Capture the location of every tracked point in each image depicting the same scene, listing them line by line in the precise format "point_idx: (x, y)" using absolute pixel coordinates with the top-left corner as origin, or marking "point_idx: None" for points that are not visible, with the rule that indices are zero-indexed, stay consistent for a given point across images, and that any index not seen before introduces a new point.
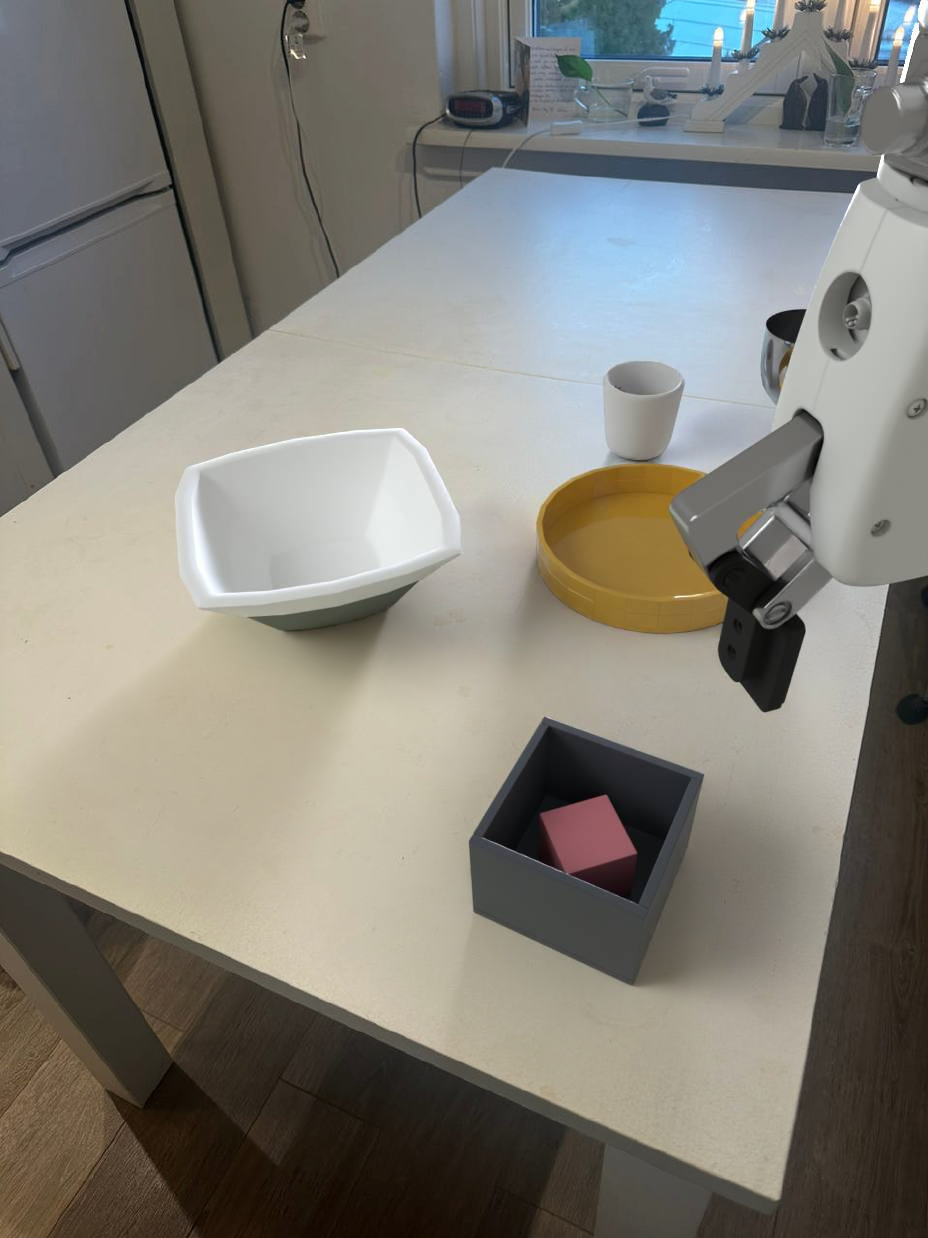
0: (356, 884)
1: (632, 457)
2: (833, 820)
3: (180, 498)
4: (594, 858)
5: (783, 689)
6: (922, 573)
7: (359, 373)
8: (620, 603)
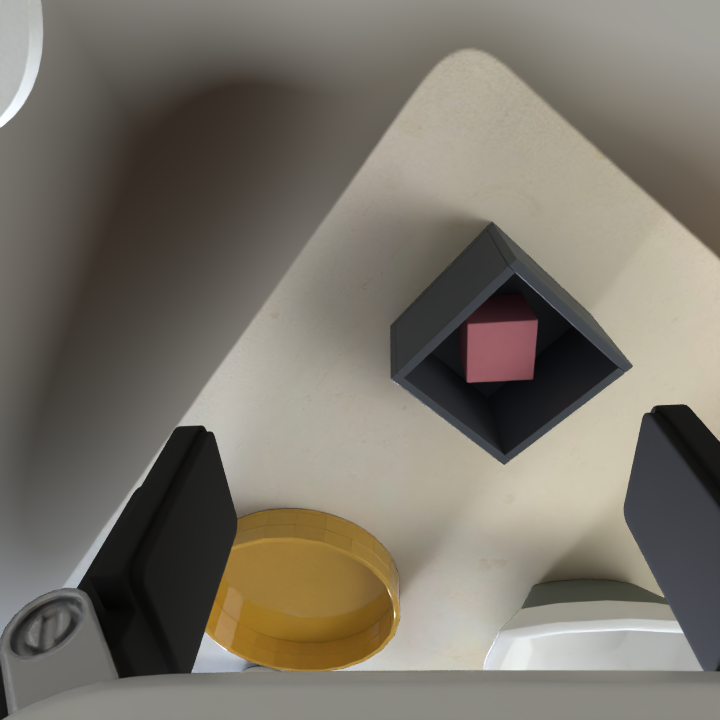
0: (672, 359)
1: (273, 671)
2: (256, 319)
3: None
4: (506, 328)
5: (691, 435)
6: (706, 697)
7: None
8: (355, 547)
